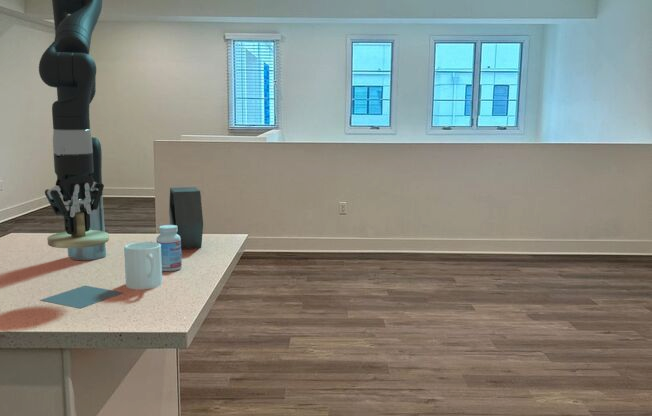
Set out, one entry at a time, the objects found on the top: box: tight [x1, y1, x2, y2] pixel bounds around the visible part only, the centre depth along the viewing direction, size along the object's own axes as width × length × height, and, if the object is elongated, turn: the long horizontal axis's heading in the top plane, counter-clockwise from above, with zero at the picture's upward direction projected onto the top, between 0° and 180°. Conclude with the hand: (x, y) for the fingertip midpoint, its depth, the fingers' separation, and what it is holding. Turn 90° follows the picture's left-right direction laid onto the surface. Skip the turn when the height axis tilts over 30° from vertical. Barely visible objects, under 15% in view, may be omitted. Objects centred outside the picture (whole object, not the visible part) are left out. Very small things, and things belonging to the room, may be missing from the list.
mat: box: [39, 285, 125, 310], centre depth 126 cm, size 12×12×1 cm
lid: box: [47, 212, 110, 249], centre depth 124 cm, size 12×12×6 cm
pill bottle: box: [156, 224, 183, 272], centre depth 150 cm, size 6×6×11 cm
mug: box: [123, 241, 163, 290], centre depth 133 cm, size 8×12×10 cm
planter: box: [168, 186, 204, 250], centre depth 177 cm, size 17×8×21 cm
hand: (78, 232), depth 124 cm, fingers closed on lid, 2 cm apart
